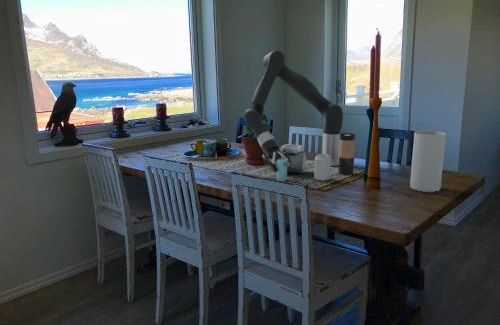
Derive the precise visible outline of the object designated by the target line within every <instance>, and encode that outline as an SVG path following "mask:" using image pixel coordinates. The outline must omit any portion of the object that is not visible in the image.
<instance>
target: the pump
mask: <svg viewBox="0 0 500 325" xmlns="http://www.w3.org/2000/svg"><path fill="white" fill-rule="evenodd" d="M290 166H291V163H289V162H287V159H276V167H277V169H278V171H277V172H276V173H275V180H276V179H277V180H281V181H283V180H287V181H288V172H287V167H290ZM283 182H284V181H283Z"/></svg>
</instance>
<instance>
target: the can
mask: <svg viewBox="0 0 500 325" xmlns="http://www.w3.org/2000/svg"><path fill="white" fill-rule="evenodd" d="M330 162H331V158H330V157H329V155H327V154H322V153H318V154H316V155H315V157H314V179H315V180H316V181H319V180H321V181H320V182H324V181H325V180H327V181H328V180H329V179H330V178H331V166H330ZM325 182H326V181H325Z"/></svg>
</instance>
